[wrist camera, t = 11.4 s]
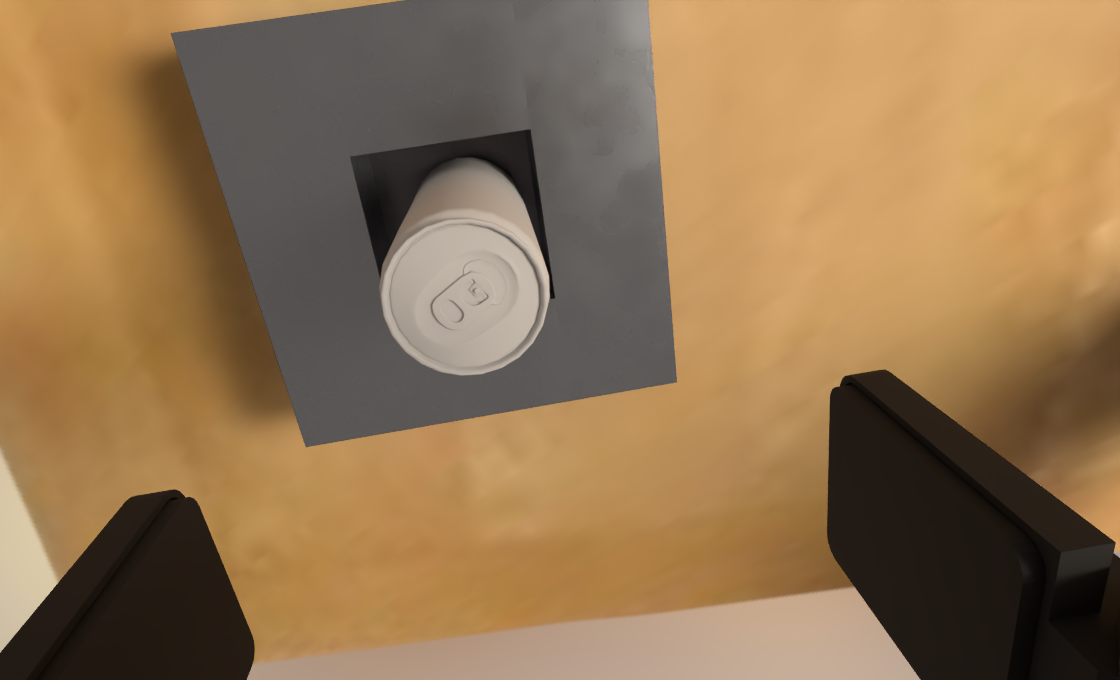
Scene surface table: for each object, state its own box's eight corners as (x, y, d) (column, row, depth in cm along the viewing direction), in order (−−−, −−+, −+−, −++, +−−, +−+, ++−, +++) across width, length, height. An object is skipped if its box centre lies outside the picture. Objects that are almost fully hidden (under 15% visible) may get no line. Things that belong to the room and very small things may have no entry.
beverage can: (546, 218, 30) (587, 308, 19) (465, 286, 31) (459, 411, 20) (473, 130, 28) (472, 174, 17) (389, 205, 29) (336, 293, 18)
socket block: (617, -17, 28) (645, -34, 23) (649, 339, 34) (676, 382, 29) (222, 38, 27) (170, 33, 22) (329, 394, 33) (305, 447, 29)
